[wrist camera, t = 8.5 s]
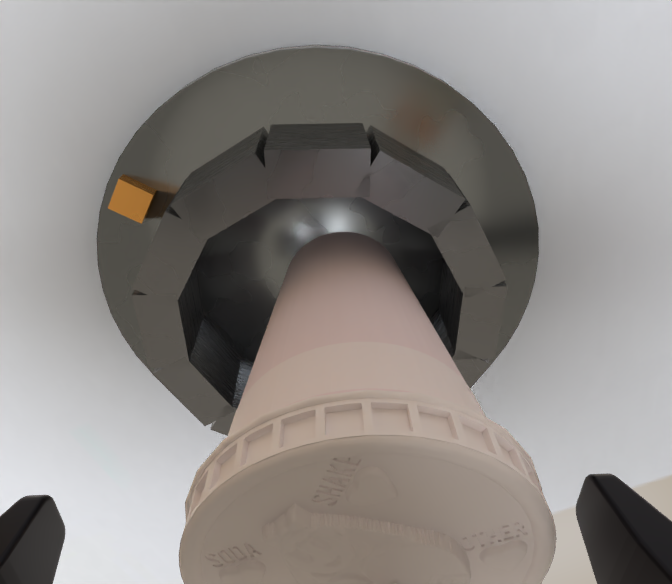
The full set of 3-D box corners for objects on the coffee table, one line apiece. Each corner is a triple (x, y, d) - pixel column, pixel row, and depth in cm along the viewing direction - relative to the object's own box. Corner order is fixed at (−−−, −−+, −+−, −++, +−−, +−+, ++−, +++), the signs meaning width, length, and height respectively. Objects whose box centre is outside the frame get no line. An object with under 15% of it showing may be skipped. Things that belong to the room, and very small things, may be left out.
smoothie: (343, 390, 19) (390, 1060, 7) (201, 288, 17) (-70, 1037, 5) (481, 279, 17) (867, 980, 5) (340, 143, 15) (454, 870, 3)
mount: (624, 196, 17) (683, 239, 14) (385, 468, 23) (395, 534, 20) (205, -72, 13) (175, -85, 10) (52, 345, 19) (9, 406, 16)
